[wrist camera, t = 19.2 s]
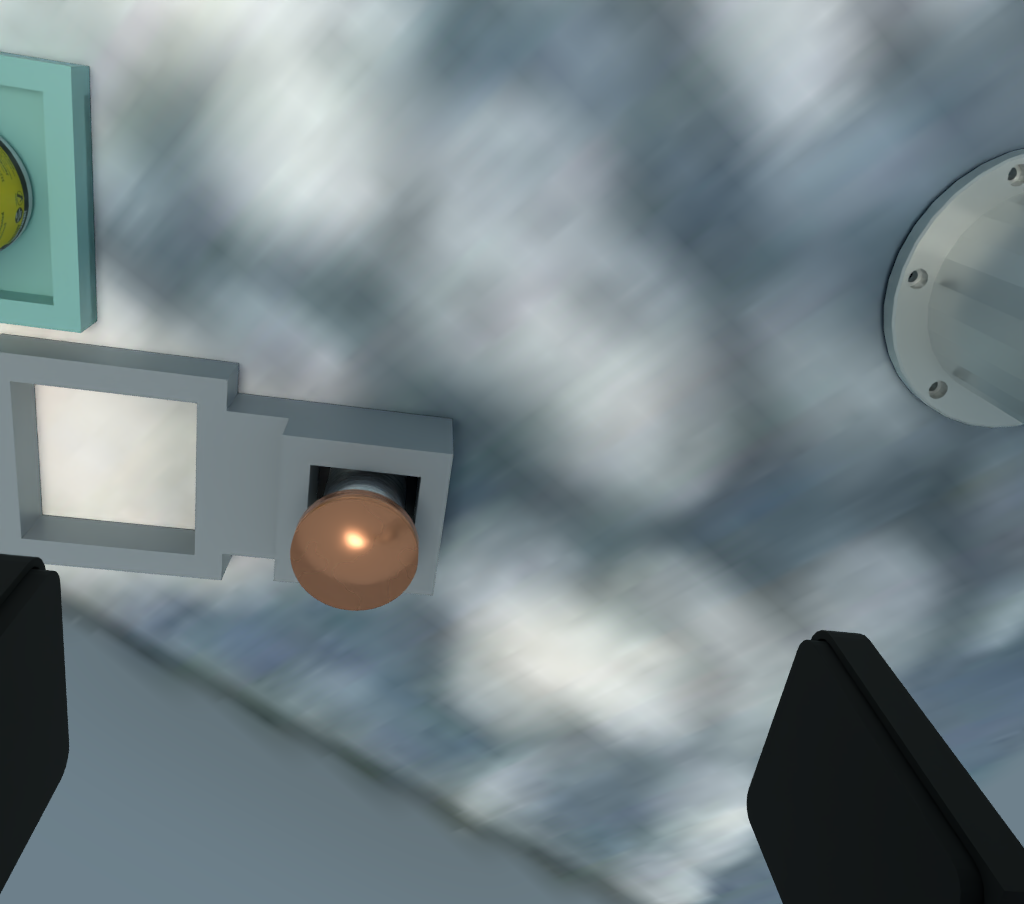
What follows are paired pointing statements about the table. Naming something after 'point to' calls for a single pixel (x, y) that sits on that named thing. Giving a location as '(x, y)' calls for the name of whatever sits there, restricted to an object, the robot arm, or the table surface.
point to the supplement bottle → (13, 196)
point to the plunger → (356, 541)
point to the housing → (209, 464)
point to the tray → (50, 195)
